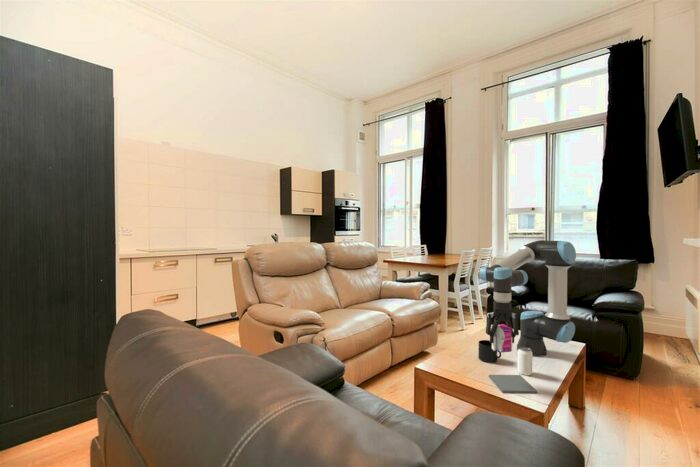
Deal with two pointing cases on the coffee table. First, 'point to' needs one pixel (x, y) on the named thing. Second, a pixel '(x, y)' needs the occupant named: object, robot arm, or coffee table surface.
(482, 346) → the mug
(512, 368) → the coffee table surface
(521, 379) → the mat
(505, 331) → the supplement box
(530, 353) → the can
